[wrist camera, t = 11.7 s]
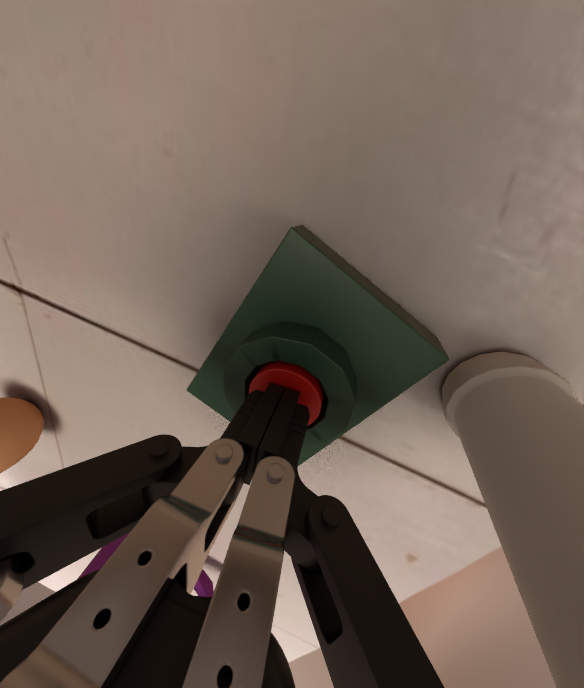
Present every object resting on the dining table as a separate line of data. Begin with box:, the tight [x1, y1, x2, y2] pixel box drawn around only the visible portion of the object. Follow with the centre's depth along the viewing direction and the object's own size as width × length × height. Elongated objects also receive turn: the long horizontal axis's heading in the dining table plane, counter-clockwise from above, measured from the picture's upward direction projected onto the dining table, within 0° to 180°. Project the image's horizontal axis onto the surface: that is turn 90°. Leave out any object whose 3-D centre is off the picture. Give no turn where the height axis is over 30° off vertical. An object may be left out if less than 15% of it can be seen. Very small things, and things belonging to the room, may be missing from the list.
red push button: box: [249, 360, 325, 425], centre depth 13 cm, size 4×4×2 cm
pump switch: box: [187, 225, 449, 467], centre depth 14 cm, size 12×9×4 cm
